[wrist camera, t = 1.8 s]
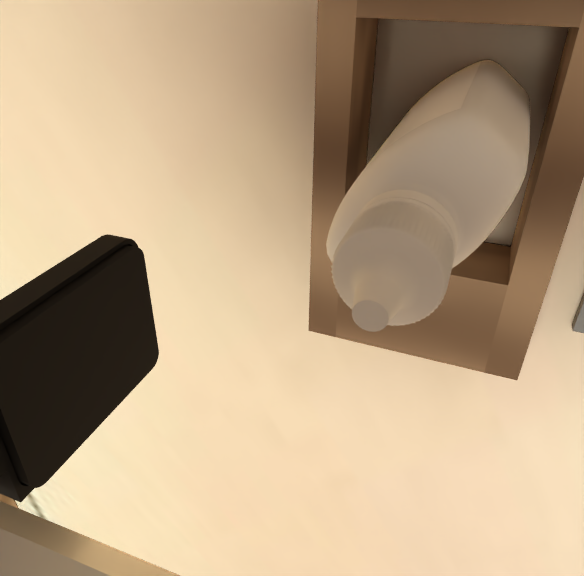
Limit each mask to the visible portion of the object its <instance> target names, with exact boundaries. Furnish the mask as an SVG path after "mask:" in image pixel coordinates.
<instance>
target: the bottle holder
mask: <svg viewBox="0 0 584 576" xmlns="http://www.w3.org/2000/svg"><path fill="white" fill-rule="evenodd" d="M378 18H382V19H404V20H425V21H447V22H469V23H490V24H512V25H534V26H555V27H569V30H568V34H567V38H566V42H565V45H564V49H563V53H562V57H561V60H560V64H559V68H558V72H557V75H556V79H555V83H554V87H553V90H552V94H551V98H550V102H549V105H548V109H547V113H546V117H545V120H544V124H543V128H542V132H541V135H540V139H539V143H538V147H537V150H536V154H535V158H534V162H533V165H532V169H531V173H530V177H529V180H528V184H527V188H526V192H525V195H524V199H523V203H522V207H521V210H520V214H519V218H518V222H517V225H516V229H515V233H514V237H513V240H512V244H511V247H510V246H504V245H498V244H492V243H486V242H483V243H482V244H481V245H480V246H479V247H478V248H477V249H476V250H475V251H474V252H472V253H471V254H470V255H469V256H468V257H467V258H466V259H464V260H463V261H462V262H461V263H459V264H458V265H457V266H455V267H454V268H452V271H451V275H450V279H449V283H448V287H447V290H446V294H445V295H444V299H443V300H442V301H441V304H440V305H438V308H437V309H435V310H434V312H433V313H430V316H426V318H425V319H421V321H416V322H415V323H410V324H405V325H399V326H396V325H394V326H391V325H387V326H386V327H385V328H384V329H382V330H380V331H375V332H371V331H366V330H364V329H362V328H360V327H359V326H358V325H357V324H356V323H355V322H354V320H353V318H352V309H350V307H349V306H347V305H346V303H345V302H344V301H343V299H342V298H341V297H340V295H339V293H338V292H337V289H336V288H335V284H334V283H333V281H334V280H333V278H332V275H333V274H332V272H331V271H332V268H331V266H332V262H331V260H330V258H329V256H328V255H327V247H326V242H327V238H328V233H329V230H330V227H331V224H332V221H333V219H334V216H335V214H336V212H337V210H338V208H339V206H340V204H341V202H342V200H343V199H344V197H345V195H346V194H347V192H348V190H349V189H350V188H351V186H352V185H353V183H354V182H355V180H356V179H357V178H358V176H359V175H360V174H361V172H362V171H363V170H364V168H365V167H366V158H367V147H368V135H369V123H370V112H371V100H372V88H373V76H374V65H375V53H376V41H377V29H378ZM583 177H584V0H318V17H317V52H316V88H315V123H314V159H313V195H312V230H311V266H310V301H309V331H313V332H317V333H321V334H325V335H329V336H334V337H338V338H342V339H346V340H350V341H355V342H359V343H363V344H367V345H371V346H376V347H380V348H384V349H388V350H392V351H396V352H401V353H405V354H409V355H413V356H417V357H422V358H426V359H430V360H434V361H438V362H443V363H447V364H451V365H455V366H459V367H464V368H468V369H472V370H476V371H480V372H485V373H489V374H493V375H497V376H501V377H506V378H510V379H514V380H517V379H518V376H519V373H520V370H521V367H522V364H523V361H524V358H525V355H526V352H527V349H528V345H529V342H530V339H531V336H532V333H533V330H534V327H535V324H536V321H537V318H538V315H539V312H540V309H541V306H542V303H543V299H544V296H545V293H546V290H547V287H548V284H549V281H550V278H551V275H552V272H553V269H554V266H555V263H556V260H557V257H558V253H559V250H560V247H561V244H562V241H563V238H564V235H565V232H566V229H567V226H568V223H569V220H570V217H571V214H572V211H573V207H574V204H575V201H576V198H577V195H578V192H579V189H580V186H581V183H582V180H583Z"/></svg>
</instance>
